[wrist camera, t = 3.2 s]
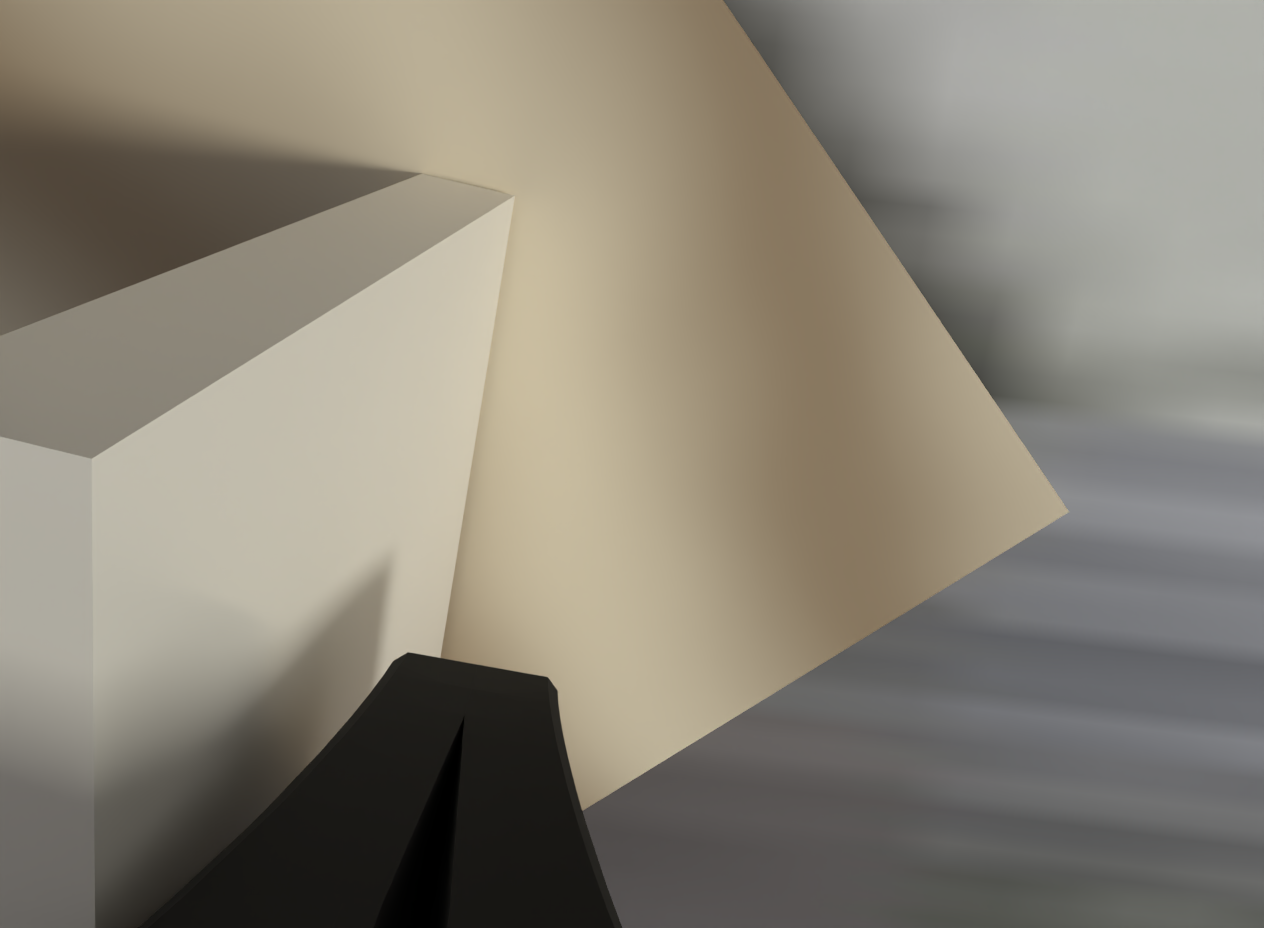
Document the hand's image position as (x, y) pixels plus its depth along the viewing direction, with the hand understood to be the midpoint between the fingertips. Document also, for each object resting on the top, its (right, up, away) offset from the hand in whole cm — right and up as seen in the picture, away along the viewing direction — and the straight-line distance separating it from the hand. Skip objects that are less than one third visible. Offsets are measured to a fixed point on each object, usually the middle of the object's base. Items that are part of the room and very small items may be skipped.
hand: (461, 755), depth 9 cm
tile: (-1, +2, +4) cm, 5 cm away
